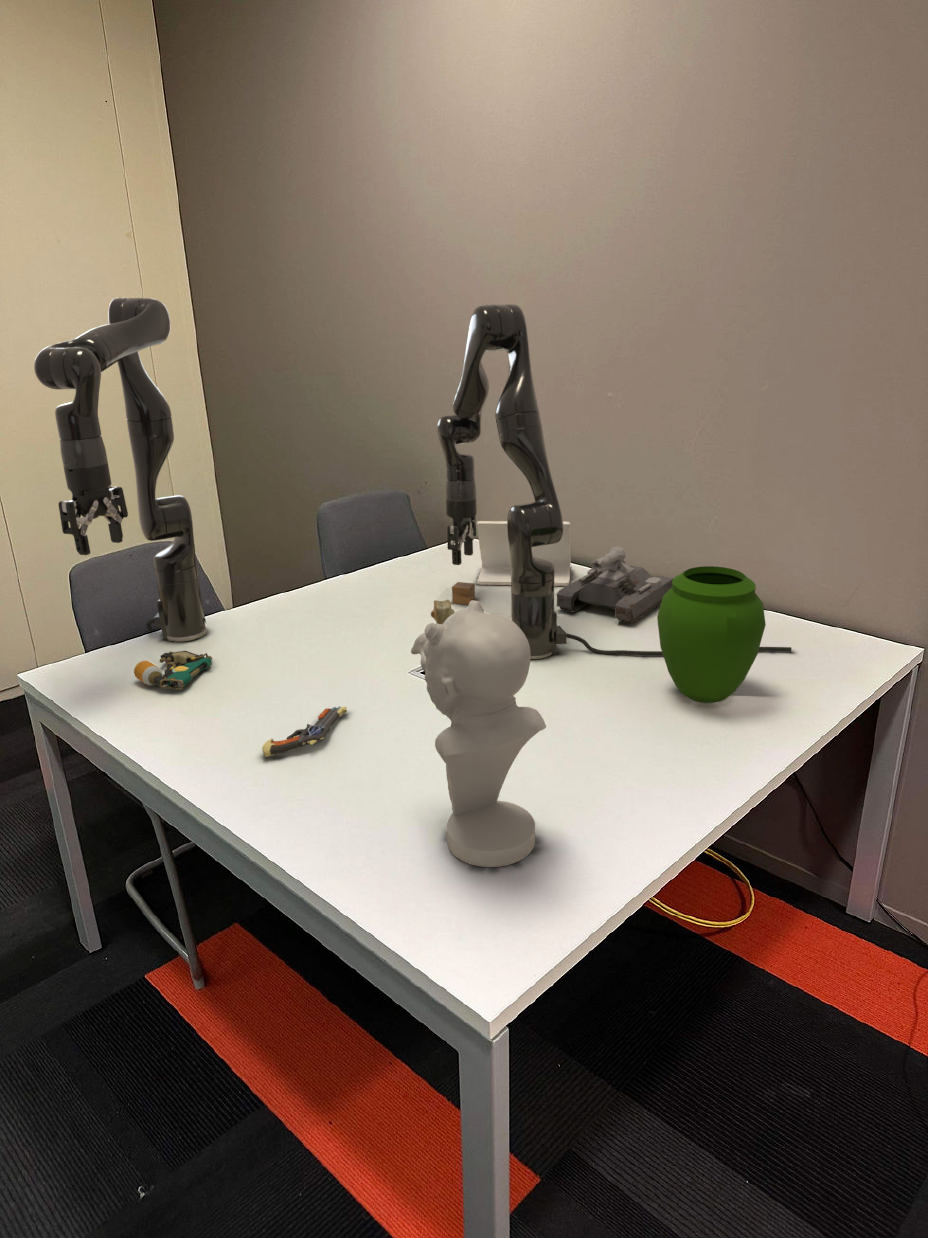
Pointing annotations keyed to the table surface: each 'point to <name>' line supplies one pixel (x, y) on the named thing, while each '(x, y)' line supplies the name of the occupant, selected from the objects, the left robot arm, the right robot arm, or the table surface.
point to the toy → (615, 588)
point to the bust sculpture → (481, 729)
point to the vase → (710, 631)
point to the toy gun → (305, 733)
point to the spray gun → (172, 669)
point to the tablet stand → (497, 554)
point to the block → (463, 593)
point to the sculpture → (441, 611)
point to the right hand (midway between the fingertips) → (462, 559)
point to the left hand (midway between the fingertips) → (101, 548)
